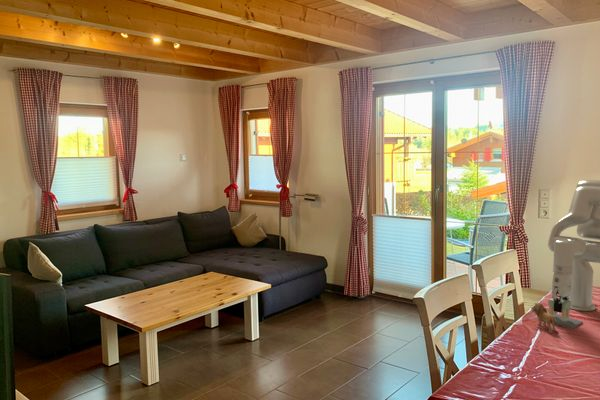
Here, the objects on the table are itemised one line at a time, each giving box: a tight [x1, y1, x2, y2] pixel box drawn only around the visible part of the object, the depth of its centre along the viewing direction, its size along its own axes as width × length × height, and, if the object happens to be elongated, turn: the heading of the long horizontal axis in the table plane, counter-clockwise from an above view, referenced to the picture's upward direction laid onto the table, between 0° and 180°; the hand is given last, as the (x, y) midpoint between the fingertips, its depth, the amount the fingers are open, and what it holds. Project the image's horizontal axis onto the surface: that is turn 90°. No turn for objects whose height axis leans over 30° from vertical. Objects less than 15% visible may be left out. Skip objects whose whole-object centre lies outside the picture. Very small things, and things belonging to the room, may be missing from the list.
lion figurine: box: [530, 302, 560, 335], centre depth 199 cm, size 15×5×9 cm, turn 11°
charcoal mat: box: [538, 313, 584, 330], centre depth 206 cm, size 10×14×1 cm
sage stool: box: [548, 297, 571, 320], centre depth 206 cm, size 7×5×7 cm
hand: (560, 309), depth 206 cm, fingers closed on sage stool, 5 cm apart
